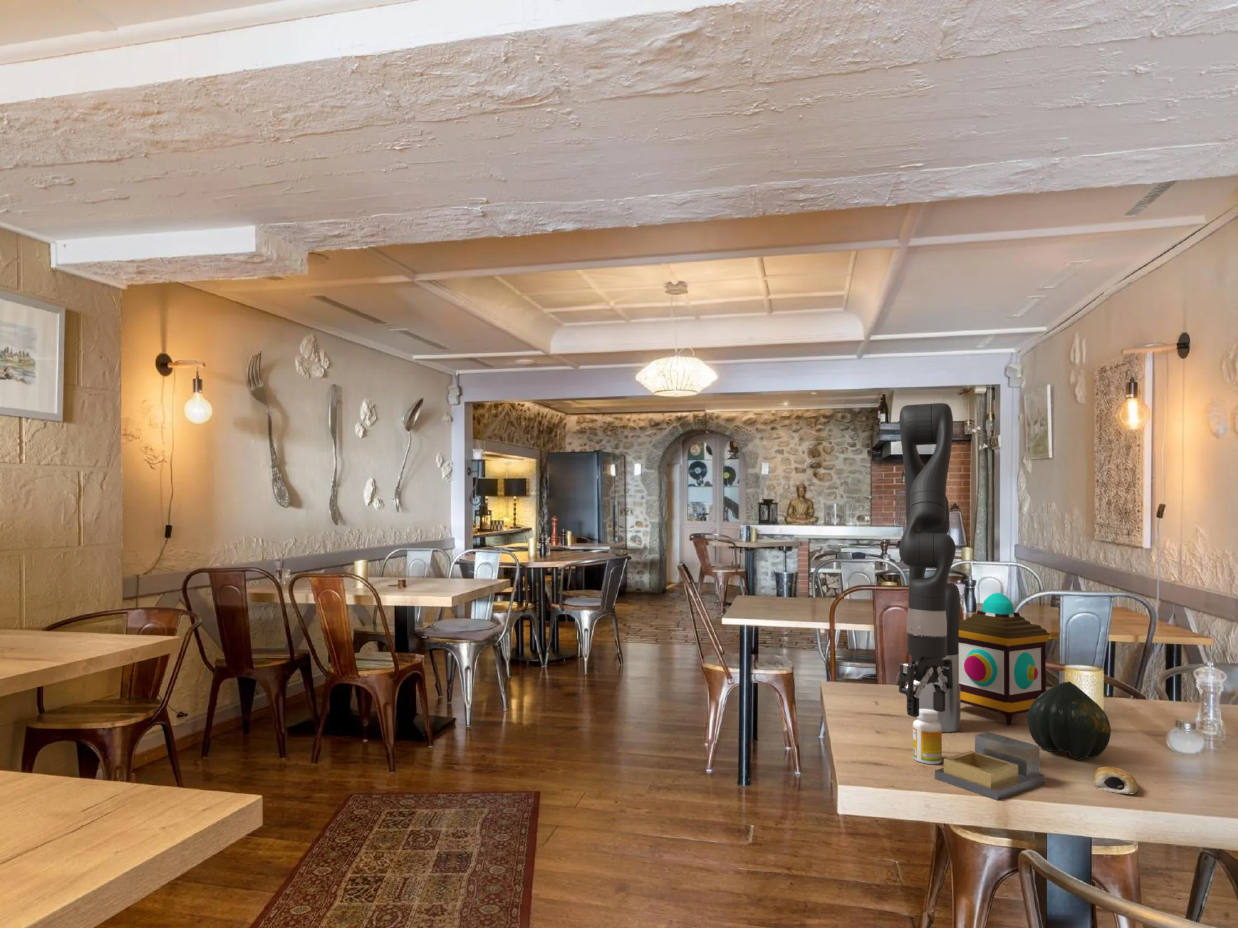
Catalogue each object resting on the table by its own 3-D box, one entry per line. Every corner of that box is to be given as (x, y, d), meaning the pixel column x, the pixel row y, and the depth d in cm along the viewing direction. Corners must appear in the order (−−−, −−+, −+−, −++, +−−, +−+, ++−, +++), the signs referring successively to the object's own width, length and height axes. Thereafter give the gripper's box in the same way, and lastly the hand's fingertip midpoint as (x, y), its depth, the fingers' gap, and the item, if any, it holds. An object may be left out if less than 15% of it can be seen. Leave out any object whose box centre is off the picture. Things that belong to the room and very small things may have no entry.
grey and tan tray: (983, 763, 149) (983, 730, 149) (1045, 783, 139) (1045, 747, 139) (934, 778, 140) (934, 742, 141) (997, 800, 130) (997, 761, 131)
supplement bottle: (947, 762, 150) (947, 712, 150) (930, 766, 147) (930, 716, 147) (923, 754, 154) (923, 706, 155) (907, 758, 151) (907, 709, 152)
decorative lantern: (1011, 730, 173) (1010, 598, 175) (937, 708, 190) (937, 589, 192) (1062, 719, 183) (1061, 595, 184) (987, 700, 200) (986, 587, 202)
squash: (1059, 739, 148) (1096, 679, 152) (1001, 721, 162) (1037, 666, 166) (1104, 785, 150) (1140, 724, 154) (1043, 762, 164) (1077, 708, 168)
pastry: (1094, 775, 144) (1094, 755, 145) (1137, 784, 141) (1137, 763, 141) (1093, 790, 137) (1093, 769, 137) (1138, 799, 133) (1138, 777, 133)
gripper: (931, 627, 159) (931, 705, 158) (888, 630, 151) (887, 713, 150) (964, 632, 153) (964, 713, 151) (921, 636, 145) (921, 722, 144)
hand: (926, 713), depth 151 cm, fingers open, 8 cm apart
